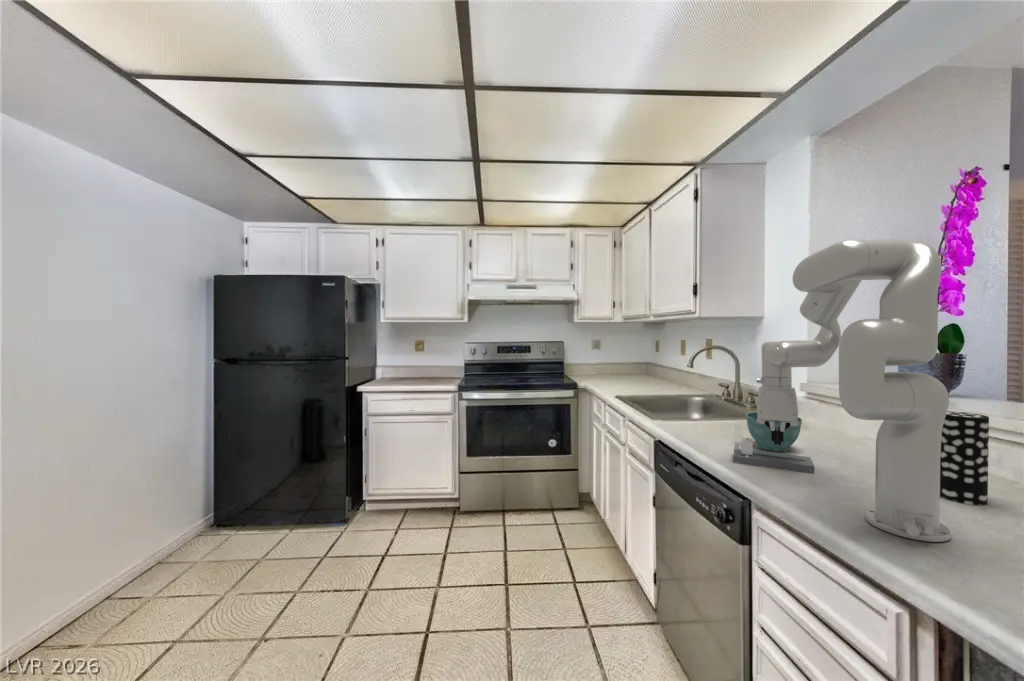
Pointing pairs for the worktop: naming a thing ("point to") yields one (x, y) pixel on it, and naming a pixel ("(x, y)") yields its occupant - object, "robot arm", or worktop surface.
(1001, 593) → the worktop surface
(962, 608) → the worktop surface
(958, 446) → the white-spotted black cylinder
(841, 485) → the worktop surface
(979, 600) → the worktop surface
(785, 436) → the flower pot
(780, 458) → the fader console
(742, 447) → the fader knob
